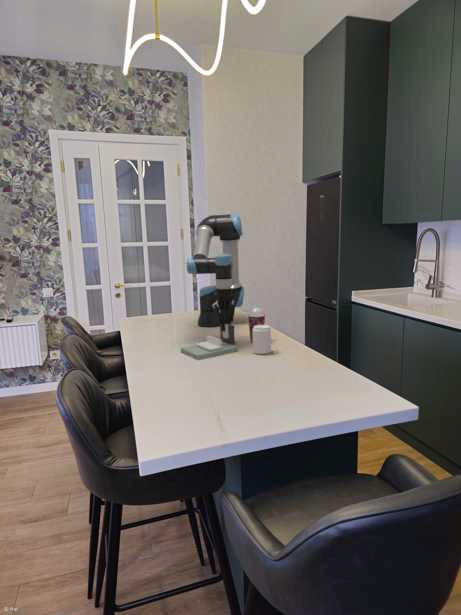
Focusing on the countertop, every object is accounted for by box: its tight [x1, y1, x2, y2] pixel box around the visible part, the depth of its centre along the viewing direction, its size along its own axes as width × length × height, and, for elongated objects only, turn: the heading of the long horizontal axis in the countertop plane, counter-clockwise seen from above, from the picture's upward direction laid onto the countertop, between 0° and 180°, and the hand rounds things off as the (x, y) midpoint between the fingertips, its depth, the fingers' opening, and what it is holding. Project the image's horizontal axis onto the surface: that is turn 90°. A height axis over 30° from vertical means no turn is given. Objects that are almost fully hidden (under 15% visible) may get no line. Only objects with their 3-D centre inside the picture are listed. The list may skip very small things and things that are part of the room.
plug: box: [219, 323, 236, 345], centre depth 197 cm, size 5×5×11 cm
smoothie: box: [247, 301, 266, 344], centre depth 197 cm, size 8×8×20 cm
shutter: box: [194, 334, 223, 351], centre depth 184 cm, size 7×13×4 cm, turn 35°
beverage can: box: [252, 324, 272, 355], centre depth 180 cm, size 8×8×12 cm
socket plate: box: [180, 342, 239, 361], centre depth 184 cm, size 21×16×2 cm
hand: (225, 337), depth 189 cm, fingers closed
